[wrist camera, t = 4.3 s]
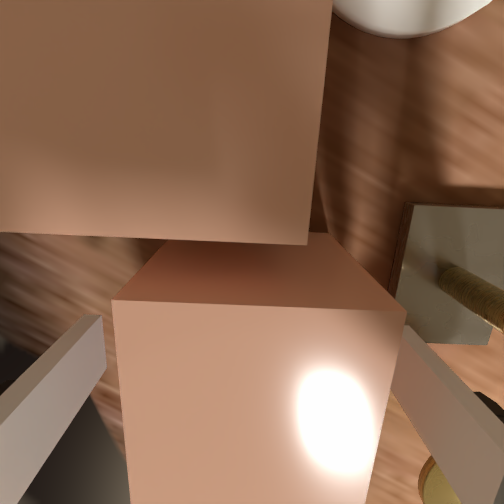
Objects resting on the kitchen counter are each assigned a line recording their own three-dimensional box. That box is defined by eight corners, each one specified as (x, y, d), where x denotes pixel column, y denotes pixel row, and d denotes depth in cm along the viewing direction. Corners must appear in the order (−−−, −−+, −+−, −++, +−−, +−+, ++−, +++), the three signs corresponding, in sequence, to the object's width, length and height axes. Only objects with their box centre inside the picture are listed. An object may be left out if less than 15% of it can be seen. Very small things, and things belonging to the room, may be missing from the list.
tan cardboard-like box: (108, 6, 14) (-112, -225, 5) (290, 17, 14) (353, -190, 6) (122, 190, 17) (-15, 231, 8) (277, 197, 17) (306, 245, 8)
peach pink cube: (180, 226, 17) (111, 300, 9) (328, 233, 17) (407, 311, 9) (182, 354, 20) (131, 510, 11) (312, 358, 20) (361, 516, 11)
